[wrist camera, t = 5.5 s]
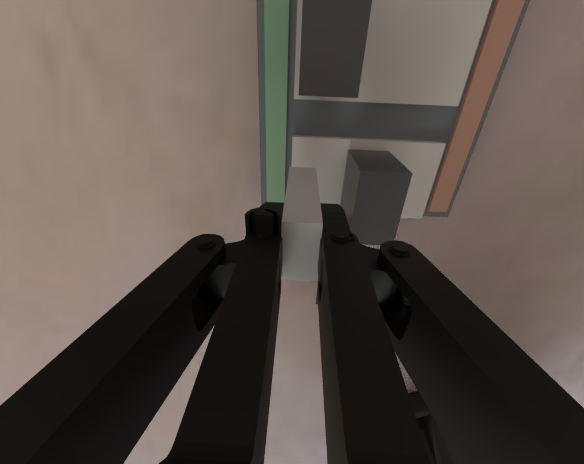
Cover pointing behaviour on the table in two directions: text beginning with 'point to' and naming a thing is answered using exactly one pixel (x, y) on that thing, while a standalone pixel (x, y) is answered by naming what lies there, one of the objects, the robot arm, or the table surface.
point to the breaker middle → (333, 47)
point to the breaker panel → (386, 95)
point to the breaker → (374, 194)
